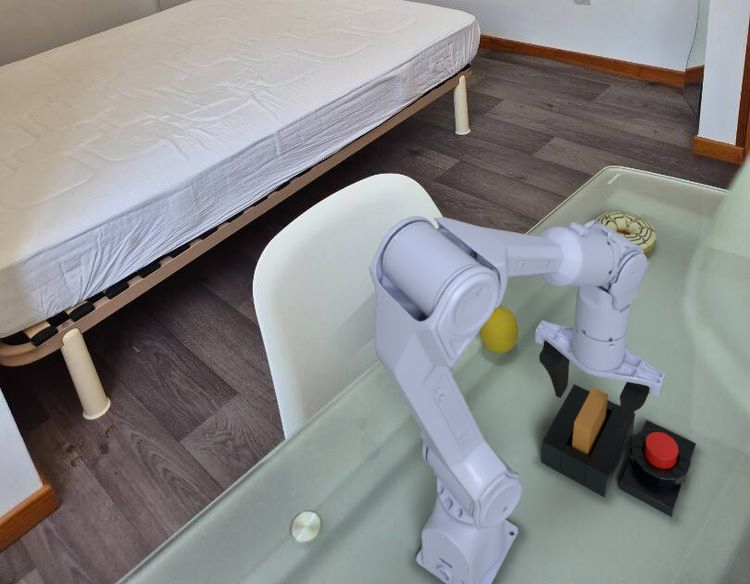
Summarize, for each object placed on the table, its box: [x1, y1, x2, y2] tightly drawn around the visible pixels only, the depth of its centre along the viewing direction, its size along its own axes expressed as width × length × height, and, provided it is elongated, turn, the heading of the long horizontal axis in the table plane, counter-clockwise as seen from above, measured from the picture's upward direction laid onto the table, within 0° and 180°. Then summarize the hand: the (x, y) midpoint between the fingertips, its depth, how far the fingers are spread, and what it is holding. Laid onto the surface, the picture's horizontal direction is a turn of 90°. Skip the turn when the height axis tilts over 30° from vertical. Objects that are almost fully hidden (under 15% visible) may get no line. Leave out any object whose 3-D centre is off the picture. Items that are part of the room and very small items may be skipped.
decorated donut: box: [595, 210, 657, 256], centre depth 120 cm, size 10×11×4 cm
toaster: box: [540, 383, 636, 498], centre depth 85 cm, size 10×8×4 cm
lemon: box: [479, 305, 519, 354], centre depth 99 cm, size 6×6×8 cm
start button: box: [644, 432, 678, 469], centre depth 82 cm, size 4×4×2 cm
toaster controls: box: [618, 419, 697, 518], centre depth 83 cm, size 10×6×3 cm, turn 143°
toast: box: [572, 387, 609, 457], centre depth 85 cm, size 6×2×6 cm, turn 143°
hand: (591, 406), depth 83 cm, fingers open, 7 cm apart
